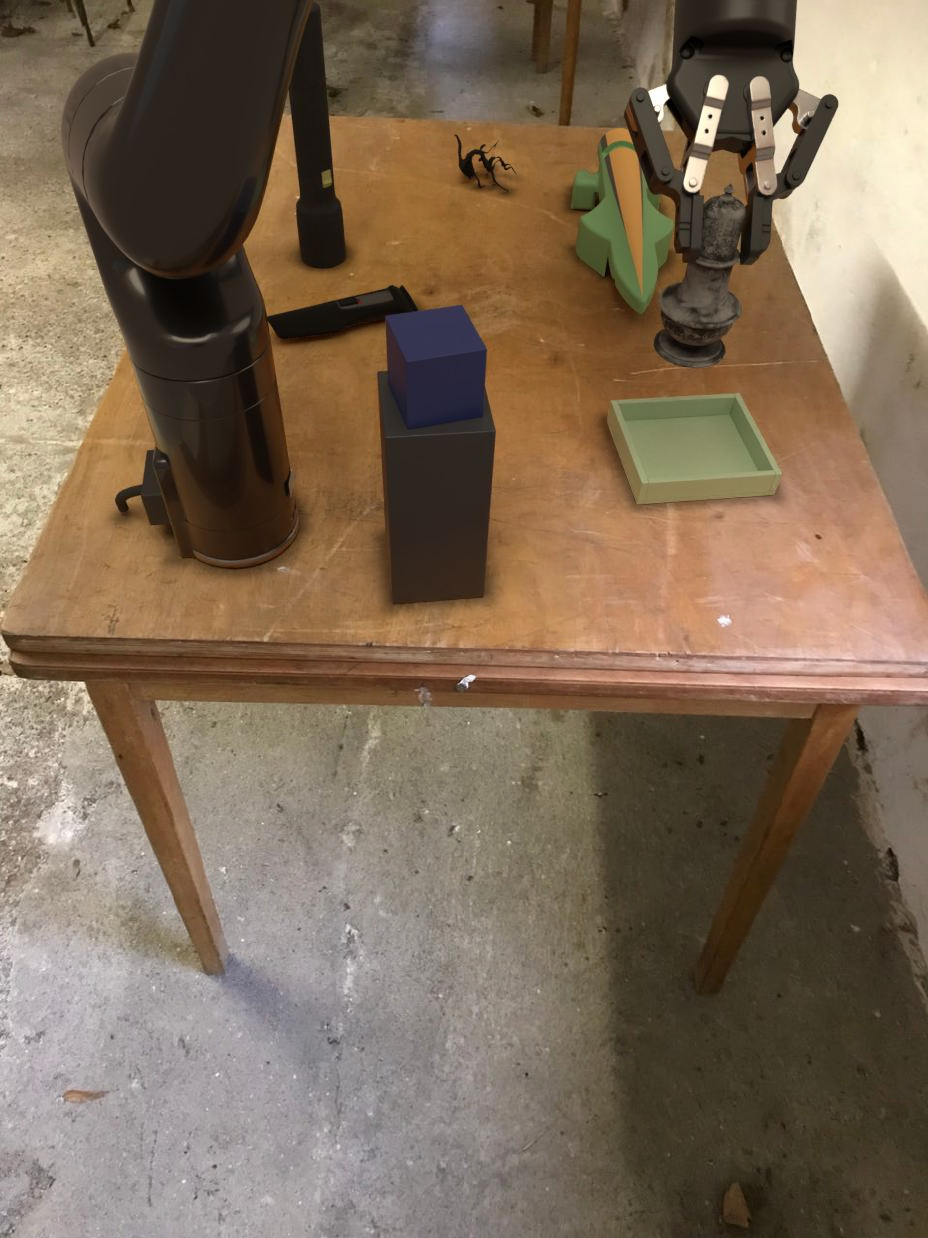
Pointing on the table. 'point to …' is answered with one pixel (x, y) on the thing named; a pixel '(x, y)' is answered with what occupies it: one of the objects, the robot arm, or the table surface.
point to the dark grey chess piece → (704, 291)
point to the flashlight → (315, 153)
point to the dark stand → (435, 502)
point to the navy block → (435, 366)
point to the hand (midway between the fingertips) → (721, 259)
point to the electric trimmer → (342, 313)
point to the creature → (467, 164)
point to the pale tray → (691, 448)
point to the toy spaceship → (621, 220)
